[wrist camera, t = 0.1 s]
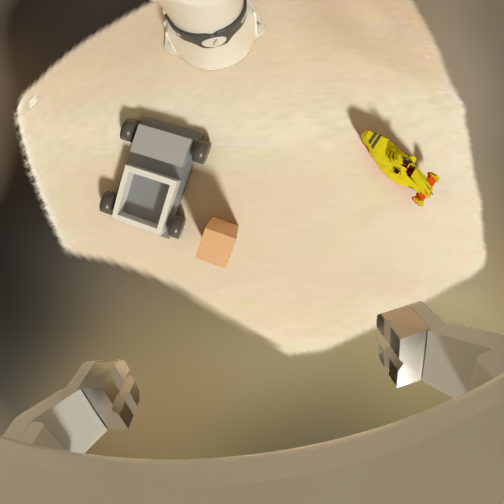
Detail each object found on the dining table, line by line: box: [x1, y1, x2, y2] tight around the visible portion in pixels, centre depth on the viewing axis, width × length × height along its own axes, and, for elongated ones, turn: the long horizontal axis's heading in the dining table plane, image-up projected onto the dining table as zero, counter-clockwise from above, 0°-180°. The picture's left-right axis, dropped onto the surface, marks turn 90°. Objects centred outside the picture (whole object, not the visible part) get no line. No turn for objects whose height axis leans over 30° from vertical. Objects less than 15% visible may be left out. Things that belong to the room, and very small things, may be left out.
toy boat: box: [361, 130, 440, 206], centre depth 49 cm, size 6×18×10 cm, turn 56°
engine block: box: [195, 216, 238, 268], centre depth 52 cm, size 5×5×10 cm
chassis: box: [100, 117, 211, 239], centre depth 52 cm, size 20×16×4 cm
